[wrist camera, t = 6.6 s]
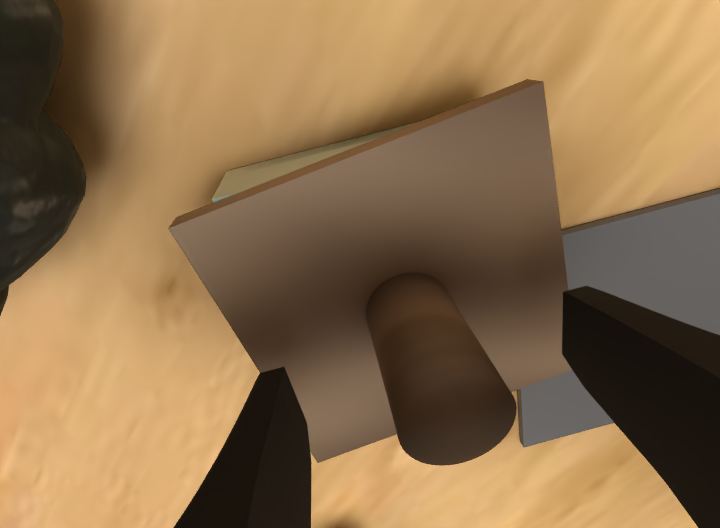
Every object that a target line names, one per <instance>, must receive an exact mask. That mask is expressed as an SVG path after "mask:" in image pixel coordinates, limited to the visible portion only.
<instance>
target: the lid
mask: <svg viewBox="0 0 720 528" xmlns="http://www.w3.org/2000/svg"><path fill="white" fill-rule="evenodd" d="M168 229H169V230H170V232H171V233H172V235H173V237H174V238H175V240H176V241H177V243H178V244H179V246H180V248H181V249H182V251H183V252H184V254H185V255H186V257H187V259H188V260H189V262H190V263H191V265H192V266H193V268H194V270H195V271H196V273H197V274H198V276H199V277H200V279H201V281H202V282H203V284H204V285H205V287H206V288H207V290H208V291H209V293H210V295H211V296H212V298H213V299H214V301H215V302H216V304H217V306H218V307H219V309H220V310H221V312H222V313H223V315H224V317H225V318H226V320H227V321H228V323H229V324H230V326H231V328H232V329H233V331H234V332H235V334H236V335H237V337H238V339H239V340H240V342H241V343H242V345H243V346H244V348H245V350H246V351H247V353H248V354H249V356H250V357H251V359H252V361H253V362H254V364H255V365H256V367H257V368H258V370H259V372H260V373H262V372H266V371H269V370H273V369H277V368H281V367H285V370H286V372H287V375H288V377H289V379H290V382H291V384H292V387H293V389H294V392H295V394H296V397H297V399H298V402H299V404H300V407H301V409H302V411H303V414H304V416H305V419H306V421H307V426H308V435H309V444H310V452H311V453H312V455H313V456H314V458H315V459H316V461H317V463H319V462H322V461H324V460H327V459H330V458H333V457H335V456H338V455H341V454H344V453H346V452H349V451H352V450H355V449H357V448H360V447H363V446H366V445H368V444H371V443H374V442H376V441H379V440H382V439H385V438H387V437H390V436H393V435H396V434H397V435H398V439H399V442H400V445H401V446H402V448H403V450H404V451H405V452H406V453H407V454H408V455H409V456H411V457H412V458H414V459H415V460H418V461H420V462H423V463H426V464H431V465H453V464H458V463H463V462H466V461H469V460H472V459H475V458H477V457H479V456H481V455H483V454H485V453H486V452H488V451H490V450H491V449H492V448H494V447H495V446H496V445H497V444H499V443H500V442H501V441H502V440H503V439H504V437H505V436H506V435H507V434H508V432H509V431H510V429H511V427H512V425H513V423H514V420H515V417H516V402H515V399H514V397H513V395H512V393H511V392H513V391H516V390H519V389H522V388H524V387H527V386H530V385H533V384H535V383H538V382H541V381H543V380H546V379H549V378H552V377H554V376H557V375H560V374H563V373H565V372H568V371H571V370H572V369H571V367H570V365H569V364H568V362H567V361H566V359H565V358H564V356H563V355H562V320H563V292H564V291H568V282H567V273H566V265H565V257H564V249H563V241H562V232H561V224H560V216H559V208H558V199H557V191H556V183H555V175H554V166H553V158H552V150H551V142H550V134H549V125H548V117H547V109H546V101H545V92H544V84H543V81H536V80H528V79H527V80H524V81H522V82H519V83H517V84H514V85H512V86H509V87H507V88H504V89H502V90H499V91H496V92H494V93H491V94H489V95H486V96H484V97H481V98H479V99H476V100H474V101H471V102H468V103H466V104H463V105H461V106H458V107H456V108H453V109H451V110H448V111H446V112H443V113H440V114H438V115H435V116H433V117H430V118H428V119H425V120H423V121H420V122H418V123H415V124H412V125H410V126H407V127H405V128H402V129H400V130H397V131H395V132H392V133H390V134H387V135H384V136H382V137H379V138H377V139H374V140H372V141H369V142H367V143H364V144H362V145H359V146H356V147H354V148H351V149H349V150H346V151H344V152H341V153H339V154H336V155H334V156H331V157H329V158H326V159H323V160H321V161H318V162H316V163H313V164H311V165H308V166H306V167H303V168H301V169H298V170H295V171H293V172H290V173H288V174H285V175H283V176H280V177H278V178H275V179H273V180H270V181H267V182H265V183H262V184H260V185H257V186H255V187H252V188H250V189H247V190H245V191H242V192H239V193H237V194H234V195H232V196H229V197H227V198H224V199H222V200H219V201H217V202H214V203H211V204H209V205H206V206H204V207H201V208H199V209H196V210H194V211H191V212H189V213H186V214H184V215H181V216H178V217H176V218H175V220H174V221H173V223H172V224H171V225H170V227H169V228H168Z"/></svg>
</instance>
